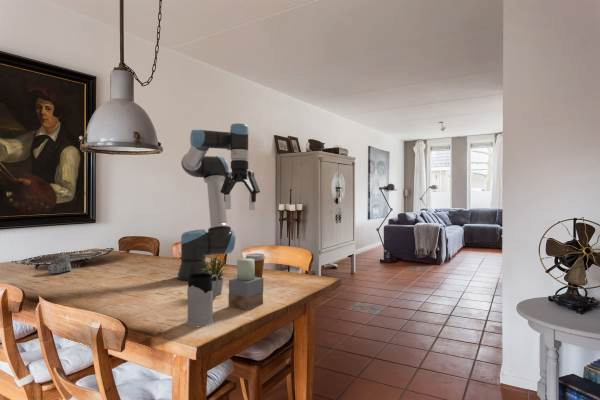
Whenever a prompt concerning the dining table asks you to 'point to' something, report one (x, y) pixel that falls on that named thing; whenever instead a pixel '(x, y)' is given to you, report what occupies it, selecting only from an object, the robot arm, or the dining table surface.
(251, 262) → the pale green rounded cylinder
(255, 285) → the charcoal top block
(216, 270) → the house plant
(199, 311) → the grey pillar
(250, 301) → the walnut base block
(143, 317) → the dining table surface
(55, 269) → the mineral rock
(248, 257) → the disposable coffee cup
